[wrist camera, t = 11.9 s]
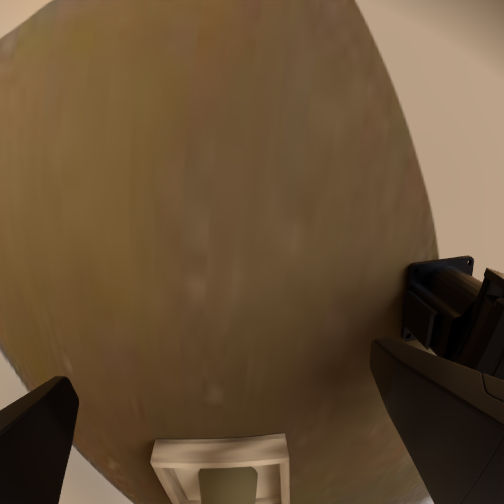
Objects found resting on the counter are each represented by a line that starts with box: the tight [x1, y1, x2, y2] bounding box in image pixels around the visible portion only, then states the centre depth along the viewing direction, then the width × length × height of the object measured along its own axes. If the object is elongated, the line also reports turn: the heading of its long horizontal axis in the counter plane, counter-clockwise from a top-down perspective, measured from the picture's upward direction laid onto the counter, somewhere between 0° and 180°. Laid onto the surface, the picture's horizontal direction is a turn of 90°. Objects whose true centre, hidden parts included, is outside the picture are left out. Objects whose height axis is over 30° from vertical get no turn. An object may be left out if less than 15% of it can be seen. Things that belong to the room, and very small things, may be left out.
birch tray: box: [150, 433, 290, 504], centre depth 26 cm, size 12×12×3 cm
